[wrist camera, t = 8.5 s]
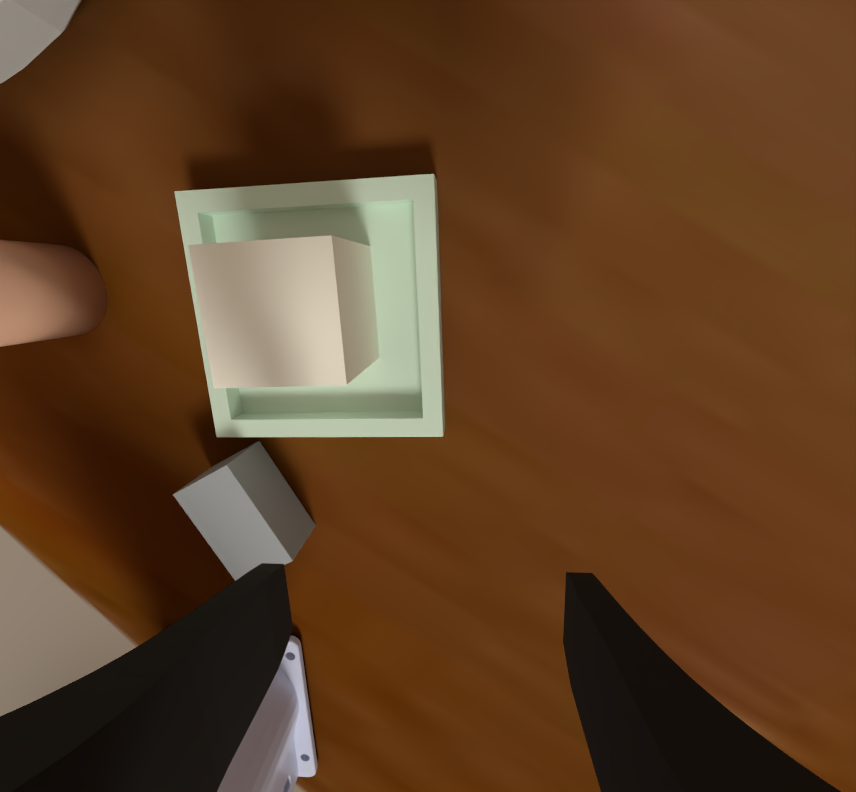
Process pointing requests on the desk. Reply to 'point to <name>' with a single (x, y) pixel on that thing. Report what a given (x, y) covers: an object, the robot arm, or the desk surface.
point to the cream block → (286, 311)
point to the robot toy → (30, 30)
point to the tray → (393, 289)
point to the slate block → (247, 511)
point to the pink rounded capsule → (47, 292)
